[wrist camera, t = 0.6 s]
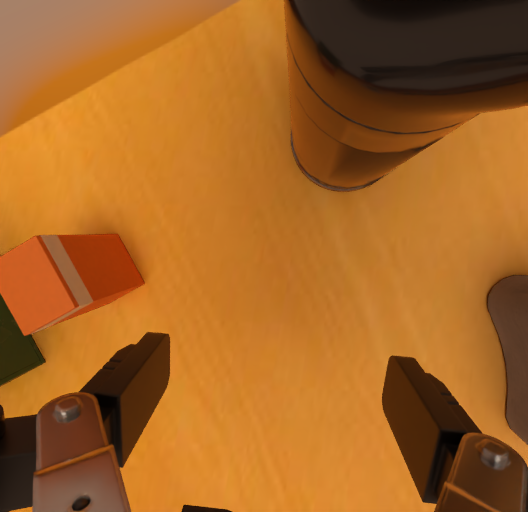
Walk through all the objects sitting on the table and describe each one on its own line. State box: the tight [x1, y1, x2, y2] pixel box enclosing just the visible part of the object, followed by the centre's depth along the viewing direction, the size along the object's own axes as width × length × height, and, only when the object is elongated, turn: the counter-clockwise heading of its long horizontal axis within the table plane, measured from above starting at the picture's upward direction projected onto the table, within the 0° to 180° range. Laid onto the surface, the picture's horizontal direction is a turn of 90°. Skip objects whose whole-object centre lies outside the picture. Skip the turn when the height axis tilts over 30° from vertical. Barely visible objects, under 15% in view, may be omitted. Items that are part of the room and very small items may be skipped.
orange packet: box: [0, 234, 145, 336], centre depth 27 cm, size 4×6×10 cm
